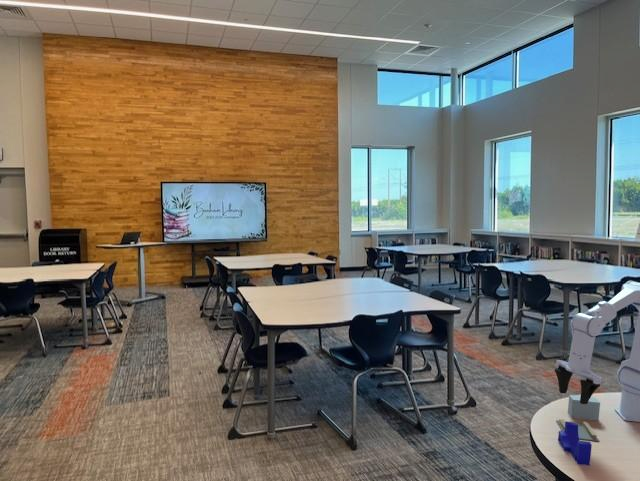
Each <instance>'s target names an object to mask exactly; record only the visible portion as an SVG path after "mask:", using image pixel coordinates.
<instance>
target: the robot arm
mask: <svg viewBox="0 0 640 481" xmlns="http://www.w3.org/2000/svg"><path fill="white" fill-rule="evenodd" d="M620 289H621V290H620V292H618V293H617V294H616V295H615V296H613V298H611V299H610V300H609V301H599V302H598V303H597V304H596V305H594V306H593V307H591V308H590V309H588V310H587V311H585V312H584V313H583V312H578V313H576V314H574V316H573V317H572V319H571V320H570V328H571V333H570V334H571V336H572V338H571V346H570V351H569V357H568V361H565V360H562V359H556V360H555V361H556V362H555V367H557V368H554V372H555V375H556V377H557V382H558V390H559V391H558V392H559V393H560V394H567V392H568V390H569V389H568V388H569V385H570V384H569V383H570V382H571V378H572V376H573V374H574V375H577V376H579V377H581V378H583V379H580V380H579V382H580V396H581V397H580V403H581V404H587V403H588V401H589V399H590V397H592V396H593V395H594V393H595V392H596V391H597V390H598V389H599V387H600V386H601V385H602V380H603V377H601V376H599V375H597V374H596V373H594V372H593V371H591V370H590V368H591V364H592V363H591V362H592V357H593V353H594V347H595V346H594V345H595V341H596V336H599V335H600V334H601V333H602V331H603V329H604V328H605V325H606V324H608V323H609V322H611V321H612V320H614V319H615V318H616V317H617V312H619V311H620V310H622V309H624V308H626V307H628V306H629V305H633V306H634V307H635V309H637V311H638V316H637V322H636V324H635V325H636V327H635V332H634V335H633V340H632V341H633V342H632V345H631V351H630V355H629V358H628V359H625V360H622V361H621V362H620V366H619V367H618V368H619V369H618V370H617V372H616V380H617V382H618V383H619V387H620V388H621V394H620V395H621V396H620V403H619V404H620V405H619V407H614V410H615V411H616V413H618V415H619V416H620V418H622V420H624V421H628V422H634V423H635V422H637V423H640V282H638V281H634V280H628V281H626V282H625V283H623V284H622V286H621V288H620Z"/></svg>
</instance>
